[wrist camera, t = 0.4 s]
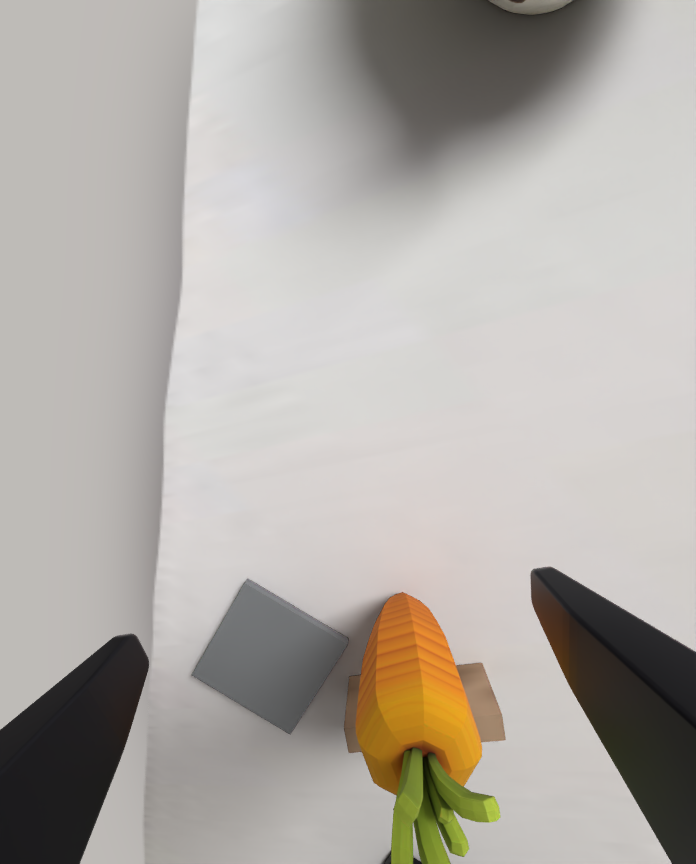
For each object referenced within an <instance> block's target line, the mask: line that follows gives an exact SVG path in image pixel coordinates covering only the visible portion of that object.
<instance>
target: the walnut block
mask: <svg viewBox="0 0 696 864" xmlns="http://www.w3.org/2000/svg"><path fill="white" fill-rule="evenodd" d="M456 668H457V671H458V673H459V676H460V679H461V682H462V685H463V687H464V690H465V693H466V696H467V699H468V702H469V705H470V708H471V711H472V714H473V717H474V720H475V723H476V726H477V730H478V733H479V736H480V740H481V742H489V741H501V740H506V739H505V732H504V726H503V719H502V713H501V711H500V708H499V706H498V703H497V700H496V698H495V695H494V693H493V690H492V687H491V685H490V682H489V680H488V677H487V674H486V672H485V669H484V667H483V664H482V663H475V664H466V665H456ZM360 678H361V675H358V676H349V684H348V694H347V704H346V714H345V723H344V731H345V736H346V741H347V746H348V752H349V753H354V752H362V751H361V748H360V745H359V743H358V739H357V735H356V714H357V704H358V694H359V685H360Z"/></svg>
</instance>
